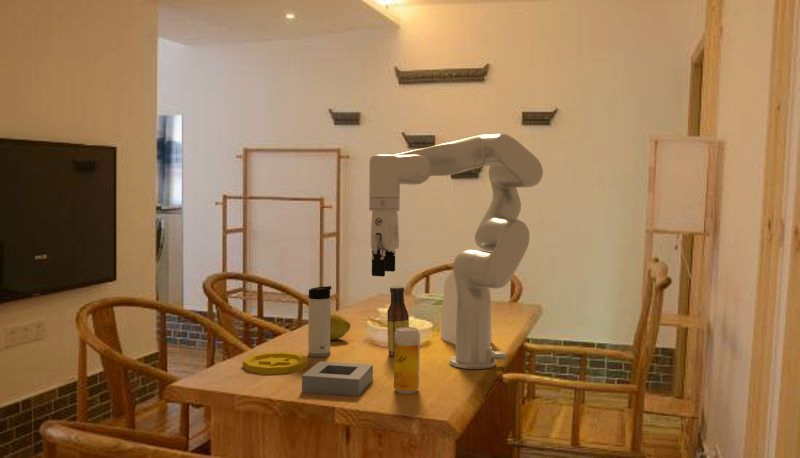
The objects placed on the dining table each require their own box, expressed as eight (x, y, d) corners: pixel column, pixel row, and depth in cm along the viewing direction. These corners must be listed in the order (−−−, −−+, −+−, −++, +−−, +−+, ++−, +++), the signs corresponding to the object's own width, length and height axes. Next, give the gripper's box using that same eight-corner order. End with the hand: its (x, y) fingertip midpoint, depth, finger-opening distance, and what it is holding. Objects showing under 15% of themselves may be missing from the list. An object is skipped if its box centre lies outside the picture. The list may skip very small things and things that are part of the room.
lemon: (311, 340, 229) (311, 315, 229) (324, 335, 236) (324, 311, 236) (341, 344, 225) (341, 318, 224) (354, 339, 232) (354, 314, 231)
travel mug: (327, 358, 207) (327, 288, 205) (305, 356, 208) (305, 287, 207) (334, 353, 213) (334, 285, 211) (312, 351, 214) (312, 284, 213)
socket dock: (372, 380, 185) (373, 364, 184) (358, 396, 171) (359, 379, 171) (319, 376, 188) (319, 361, 187) (301, 392, 174) (301, 375, 174)
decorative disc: (310, 373, 192) (310, 366, 192) (242, 376, 188) (242, 368, 188) (306, 358, 208) (306, 351, 208) (243, 360, 205) (243, 353, 205)
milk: (472, 335, 239) (474, 256, 237) (491, 342, 229) (493, 260, 227) (440, 338, 234) (441, 257, 232) (458, 346, 223) (459, 261, 222)
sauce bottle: (412, 354, 212) (413, 286, 211) (403, 358, 207) (404, 289, 205) (392, 351, 215) (393, 284, 214) (383, 356, 210) (383, 287, 208)
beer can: (392, 387, 179) (393, 326, 178) (417, 386, 179) (418, 326, 178) (394, 394, 173) (395, 332, 172) (420, 394, 173) (421, 331, 172)
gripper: (389, 206, 171) (389, 278, 172) (407, 204, 188) (406, 270, 189) (359, 205, 173) (358, 277, 174) (379, 203, 190) (378, 268, 191)
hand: (383, 273), depth 182 cm, fingers open, 9 cm apart
